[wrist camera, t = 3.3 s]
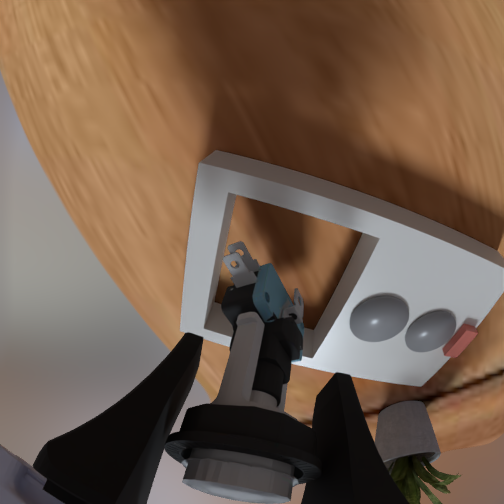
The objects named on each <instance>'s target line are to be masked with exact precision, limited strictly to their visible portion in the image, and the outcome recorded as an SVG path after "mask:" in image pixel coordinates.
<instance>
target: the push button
mask: <svg viewBox="0 0 504 504" xmlns="http://www.w3.org/2000/svg"><path fill="white" fill-rule="evenodd" d="M237 249H240V250H242V251H243V252H244V255H243V256H240V254H239V253H237V252H235V251H236V250H237ZM228 250H229V252H230V253H231V254H229V255H226V256H224V257H223V261H224V263H225V264H226V266H227V268H228V269H229V271H230V272H231V274H232V276H233V277H231V280H232V281H233V283H234V286H230V287H228V288H227V290H226V292H225V295H224V298H223V301H222V303H221V309H222V312H223V313H224V315H225V316H226V318H227V319H228V320H229V322H230V323H231V325H232V327H233V331H234V332H233V335H232V339H231V343H230V355H229V359H228V362H227V366H226V369H225V373H224V376H223V380H222V383H221V386H220V390H219V393H218V396H217V398H216V399H215V400H214V401H213V402H212V403H210V404H202V405H199V406H195V407H192V408H188V409H187V411H186V414H185V417H184V419H183V422H182V425H181V428H180V431H179V432H175V433H172V434H170V435H169V436H168V437H167V440H166V443H165V446H164V449H165V451H166V452H167V453H168V454H169V455H170V456H171V457H172V458H174V459H175V460H176V461H178V462H180V463H182V464H183V466H184V467H185V468H186V471H185V475H184V478H183V481H182V482H183V483H184V484H186V485H188V486H190V487H191V488H193V489H196V490H199V491H202V492H205V493H207V494H211V495H214V496H219V497H223V498H227V499H231V500H238V501H244V502H251V503H265V504H273V503H285V502H289V501H290V500H291V493H292V487H294V486H295V485H297V484H303V483H307V482H311V481H313V480H316V479H317V478H319V477H320V476H321V473H322V462H321V460H320V459H319V458H318V457H316V452H317V437H316V432H315V430H314V429H312V428H310V427H308V426H306V425H304V424H302V423H301V422H299V421H297V419H296V418H294V417H292V416H291V415H289V414H287V413H286V412H284V407H285V399H286V391H287V383H288V382H289V380H290V371H291V363H292V362H297V361H301V360H302V351H303V335H304V324H303V319H302V318H303V311H304V302H303V299H302V297H301V295H300V293H299V290H298V289H297V288H296V289H295V292H294V304H295V305H293V303H292V301H291V299H290V297H289V295H288V294H287V292H286V290H285V288H284V286H283V284H282V282H281V280H280V278H279V276H278V274H277V272H276V271H275V269H274V267H273V265H272V264H271V263H268V264H265V265H262V266H260V265H259V264H258V262H257V260H256V259H254V260H253V259H252V257H251V255H250V254H249V252H248V250H247V248H246V246H245V245H244V243H243V242H241V241H240V242H237V243H234V244H231V245H229V246H228ZM231 261H235V262H236V263H237V265H236V266H235V267H233V266H232V265H231ZM298 298H299V301H300V304H299V301H298Z"/></svg>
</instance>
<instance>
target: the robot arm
mask: <svg viewBox="0 0 504 504" xmlns="http://www.w3.org/2000/svg"><path fill="white" fill-rule="evenodd" d="M202 344H203V337H202V336H199V335H196V334H193V333H190V332H187V333H185V334H184V336H183V337H182V339H181V340H180V341H179V342H178V344H177V345H176V346H175V348H174V349H173V350H172V351H171V352H170V353H169V355H168V356H167V357H166V358H165V359H164V360H163V361H162V362H161V363H160V364H159V365H158V366H157V367H156V368H155V370H154V371H153V372H152V373H151V374H150V375H149V376H147V377H146V378H145V379H144V380H143V381H142V382H141V383H140V384H139V385H138V386H137V387H135V388H134V389H133V390H132V391H131V392H130V393H128V394H127V395H126V396H125V397H123V398H122V399H121V400H120V401H118V402H117V403H116V404H114V405H113V406H111V407H110V408H108V409H107V410H105V411H104V412H103V413H101V414H100V415H98V416H96V417H95V418H93V419H92V420H90V421H88V422H86V423H85V424H83V425H81V426H79V427H77V428H75V429H74V430H72V431H70V432H67V433H65V434H63V435H61V436H59V437H56V438H54V439H52V440H50V441H48V442H47V443H46V444H45V445H44V447H43V448H42V450H41V451H40V452H39V454H38V456H37V458H36V460H35V462H34V464H33V467H32V466H31V465H29V464H28V463H27V462H25V461H24V460H23V459H21V458H20V457H18V456H16V455H14V454H13V453H11V452H10V451H8V450H7V449H6V448H5V447H3V446H2V445H0V504H147V500H148V497H149V494H150V490H151V487H152V483H153V481H154V478H155V474H156V471H157V468H158V465H159V462H160V459H161V456H162V453H163V450H164V446H165V443H166V440H167V437H168V436H169V434H170V432H171V430H172V427H173V425H174V423H175V421H176V419H177V417H178V415H179V413H180V411H181V409H182V407H183V404H184V402H185V400H186V398H187V396H188V394H189V392H190V390H191V387H192V385H193V382H194V379H195V376H196V373H197V370H198V367H199V363H200V356H201V350H202ZM312 429H314V430H315V432H316V437H317V452H316V457H318V458H319V459H320V460H321V462H322V473H321V476H320V477H319V478H317V479H316V480H313V481H311V482H307V483H306V486H305V491H304V495H303V499H302V502H301V504H410V503H409V502H408V501H407V499H406V498H405V497H404V495H403V494H402V492H401V491H400V489H399V488H398V486H397V485H396V483H395V482H394V480H393V478H392V477H391V475H390V473H389V472H388V470H387V468H386V466H385V464H384V462H383V460H382V458H381V456H380V454H379V452H378V450H377V448H376V445H375V443H374V440H373V438H372V436H371V433H370V431H369V428H368V425H367V422H366V420H365V417H364V414H363V411H362V408H361V406H360V402H359V399H358V396H357V393H356V390H355V387H354V384H353V381H352V378H351V375H350V374H345V373H339V372H336V373H335V374H334V375H333V377H332V378H331V379H330V380H329V382H328V383H327V384H326V385H325V387H324V388H323V389H322V390H321V391H320V393H319V394H318V395H317V397H316V402H315V408H314V414H313V421H312Z"/></svg>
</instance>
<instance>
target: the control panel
mask: <svg viewBox="0 0 504 504" xmlns="http://www.w3.org/2000/svg"><path fill="white" fill-rule="evenodd" d="M236 194H237V195H240V196H244V197H248V198H251V199H255V200H258V201H262V202H265V203H269V204H272V205H276V206H279V207H283V208H286V209H289V210H293V211H296V212H300V213H303V214H306V215H309V216H313V217H316V218H319V219H322V220H326V221H329V222H332V223H335V224H338V225H341V226H344V227H347V228H350V229H353V230H357V231H360V232H363V233H362V236H361V238H360V240H359V242H358V244H357V246H356V249H355V251H354V253H353V255H352V257H351V259H350V261H349V263H348V265H347V267H346V269H345V271H344V274H343V276H342V278H341V280H340V282H339V284H338V286H337V287H336V289H335V291H334V293H333V295H332V297H331V299H330V301H329V303H328V305H327V307H326V309H325V310H324V312H323V314H322V316H321V318H320V320H319V322H318V323H317V325H316V327H315V329H314V330H311V329H308V328H304V335H303V351H302V360H301V361H297V362H292V364H296V365H300V366H304V367H309V368H313V369H318V370H322V371H327V372H332V373H336V372H339V373H345V374H350V375H351V376H353V377H358V378H364V379H370V380H376V381H382V382H389V383H396V384H403V385H411V386H419V387H421V386H423V385H424V384H425V383H426V382H427V381H428V380H429V379H430V378H431V377H432V376H433V375H434V374H435V373H436V372H437V371H438V370H439V369H440V368H441V367H442V366H443V365H444V364H445V363H446V362H447V361H448V360H449V359H450V358H451V357H454V358H457V357H458V356H459V355H460V353H461V352H462V351H463V350H464V349H465V348H466V347H467V346H468V345H469V343H470V342H471V341H472V340H473V339H474V338H475V337H476V335H477V334H478V332H477V329H476V328H477V327H478V325H479V324H480V323H481V322H482V320H483V319H484V318H485V316H486V315H487V314H488V313H489V311H490V310H491V309H492V307H493V306H494V304H495V303H496V302H497V300H498V299H499V298H500V296H501V295H502V293H503V292H504V258H503V257H502V256H501V254H500V253H499V252H498V251H497V250H495V249H493V248H491V247H489V246H487V245H485V244H483V243H481V242H479V241H477V240H475V239H473V238H471V237H469V236H467V235H465V234H462V233H460V232H458V231H456V230H454V229H452V228H449V227H447V226H445V225H443V224H440V223H438V222H436V221H433V220H431V219H429V218H426V217H424V216H422V215H419V214H417V213H414V212H412V211H409V210H407V209H405V208H402V207H399V206H397V205H394V204H392V203H389V202H387V201H384V200H381V199H379V198H376V197H373V196H370V195H368V194H365V193H362V192H359V191H356V190H354V189H351V188H348V187H345V186H342V185H339V184H336V183H333V182H330V181H327V180H324V179H321V178H317V177H314V176H311V175H308V174H305V173H301V172H298V171H294V170H291V169H288V168H284V167H281V166H277V165H274V164H270V163H266V162H263V161H259V160H255V159H251V158H247V157H243V156H239V155H235V154H231V153H227V152H223V151H219V150H215V151H214V152H213V153H211V154H210V155H208V156H207V157H206V158H204V159H203V160H202V161H201V162H199V166H198V172H197V179H196V185H195V192H194V199H193V206H192V214H191V222H190V230H189V238H188V247H187V256H186V265H185V275H184V286H183V297H182V310H181V323H180V331H182V332H185V333H187V332H190V333H193V334H196V335H199V336H202V337H203V339H206V340H209V341H212V342H215V343H219V344H222V345H225V346H228V347H230V343H231V339H232V335H233V332H234V331H233V327H232V325H231V323H230V322H229V320H228V319H227V318H226V316H225V315H224V313H223V312H222V309H221V304H219V303H216V302H215V297H216V292H217V287H218V282H219V277H220V271H221V266H222V261H223V256H224V251H225V247H226V242H227V237H228V232H229V227H230V222H231V218H232V213H233V208H234V203H235V199H236Z"/></svg>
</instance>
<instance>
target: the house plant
mask: <svg viewBox="0 0 504 504" xmlns="http://www.w3.org/2000/svg"><path fill="white" fill-rule="evenodd" d="M375 445H376V448H377V450H378V452H379V454H380V456H381V458H382V460H383V462H384V464H385V466H386V468H387V470H388V472H389V473H390V475H391V477H392V478H393V480H394V482H395V483H396V485H397V486H398V488H399V489H400V491H401V492H402V494H403V495H404V497H405V498H406V499H407V501H408V502H409V503H410V504H420V498H421V494H420V488H421V489H422V490H423V491H424V492H425V494H426V495H427V496H428V497H429V499H430V500H431V501H432V503H433V504H442V503H441V502H440V501H439V500H438V498H437V497H435V495H434V494H432V492H431V491H430V490H429V489H428V487H427V486H426V485H425V484H424V483H423V482H422V481H421V479H422V480H423V481H424V482H427V483H429V484H430V485H432V486H433V487H434V488H435V489H437V490H439V491H441V492H443V493H450V491H449V490H448V489H447V487H446V485H448V484H450V483H451V482H453V480H454V479H457V478H458V477H460V476H461V475H460V476H458V475H449V474H445V473H442V472H439V471H437V470H436V469H435V468H433V467H432V466H431V464H430V463H432V462H433V461H435V460H437V459H438V458H439V456H440V454H441V453H440V449H439V446H438V443H437V440H436V437H435V433H434V430H433V427H432V424H431V421H430V419H429V416H428V413H427V410H426V407H425V405H424V403H423V402H421V401H403V402H399V403H396V404H393V405H391V406H389V407H387V408H385V409H384V410H382V411H381V412H380V413H379V416H378V422H377V430H376V437H375ZM424 466H426V468H427V469H428V471H429V472H430V473H431V474H430V473H429V472H428V471H427V470H426V469H425V468H424ZM418 476H419V477H420V478H421V479H420V478H419V477H418ZM434 476H435V477H437V478H439V479H441V480H445V481H443V482H440V481H438V480H437V479H436V478H435V477H434Z"/></svg>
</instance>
